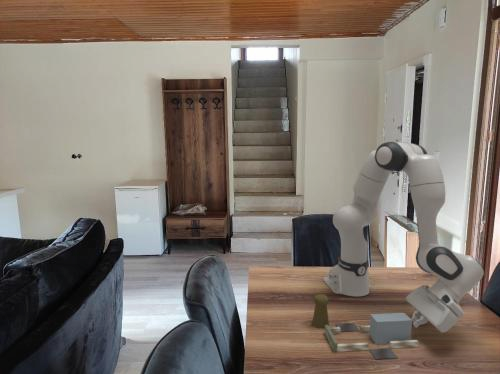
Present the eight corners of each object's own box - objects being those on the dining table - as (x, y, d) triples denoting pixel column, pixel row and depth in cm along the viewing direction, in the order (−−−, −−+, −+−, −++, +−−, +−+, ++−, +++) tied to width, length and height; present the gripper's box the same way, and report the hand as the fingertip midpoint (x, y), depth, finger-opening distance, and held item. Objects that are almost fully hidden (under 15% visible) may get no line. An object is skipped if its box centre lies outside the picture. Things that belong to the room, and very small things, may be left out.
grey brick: (403, 334, 126) (404, 312, 125) (410, 342, 121) (412, 320, 120) (369, 335, 125) (370, 314, 124) (375, 344, 120) (376, 321, 119)
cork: (310, 320, 135) (311, 292, 134) (326, 319, 136) (327, 291, 134) (314, 328, 129) (315, 300, 128) (331, 327, 130) (332, 299, 128)
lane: (394, 321, 134) (395, 314, 133) (426, 356, 113) (427, 347, 113) (320, 325, 132) (320, 317, 131) (339, 361, 111) (339, 352, 110)
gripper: (419, 277, 132) (392, 304, 132) (455, 304, 112) (423, 335, 112) (430, 288, 133) (403, 314, 134) (467, 317, 113) (435, 347, 113)
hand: (412, 324), depth 123 cm, fingers closed
